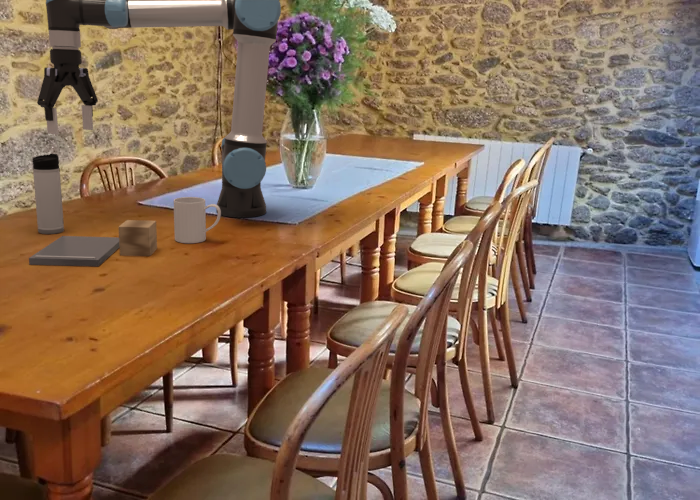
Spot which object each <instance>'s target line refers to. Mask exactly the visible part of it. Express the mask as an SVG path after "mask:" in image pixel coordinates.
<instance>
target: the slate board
mask: <svg viewBox="0 0 700 500" xmlns="http://www.w3.org/2000/svg"><path fill="white" fill-rule="evenodd" d="M119 249H120V247H119V236H118V237H116V236H114V237H112V236H111V237H109V236H82V235H81V236H78V235H76V236H75V235H74V236H73V235H62V236H60V237H59V238H57V239H55V240H54V241H53V242H51V243H49V244H47V245H46V246H45V247H43V248H42V249H40V250H39V251H37V252H36V253H34V254H33V255H31V256H29V257H28V264H29V265H31V266H34V265H35V266H62V267H63V266H64V267H65V266H66V267H100V265H102V264H103V263H104V262H105V261H106V260H107V259H109V257H111V256H112V255H113V254H114V253H115V252H116V251H118V250H119Z"/></svg>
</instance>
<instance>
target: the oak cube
mask: <svg viewBox="0 0 700 500" xmlns="http://www.w3.org/2000/svg"><path fill="white" fill-rule="evenodd" d="M118 237H119V247H120V248H119V256H127V257H130V256H134V257H151V256H152V254H154V253H155V251H156V250H157V249H158V238H157V237H158V235H157V220H140V219H139V220H137V219H136V220H135V219H126V220H125V221H124V222H123V223H120V225H119V226H118Z"/></svg>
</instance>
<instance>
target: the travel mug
mask: <svg viewBox="0 0 700 500" xmlns="http://www.w3.org/2000/svg"><path fill="white" fill-rule="evenodd" d="M31 160H32V171H33V173H32V174H33V186H34V197H35V208H36V209H35V210H36V223H37V231H38V233H39V234H42V235H54V234H60V233H63V232H64V231H65V226H64V209H63V198H62V197H63V195H62V194H63V193H62V182H61V181H62V180H61V172H60V160H59V155H58V154H57V153H50V154H42V155H41V154H40V155H36V156H33V158H32V159H31Z"/></svg>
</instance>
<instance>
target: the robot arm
mask: <svg viewBox="0 0 700 500" xmlns="http://www.w3.org/2000/svg"><path fill="white" fill-rule="evenodd" d="M45 7H46V18H47V30H48V41H49V42H48V43H49V46H50V47H52V48H50V50H49V59H50V64H53V67H44V71H43V76H44V77H43V80H42V83H41V87H40V90H39V95H38V97H37V102H36V103H37V105H38V106H39V107H41V108H43V109H44V118H45V121H46V131H47V134H48V135H49V134H51V135H59V126H58V125H59V124H58V111H57V110H58V109H57V107H55V105H56V103H57V101H58V98H59V97H60V95H61V93H62V91H63V89H64V88H66V87H68V86H69V87H72V88H73V90H74V91H75V93H76V94H77V95H78V97H79V99H80V101H82V103H83V104H82V105H81V114H82V115H81V116H82V117H81V119H82V120H81V121H82V130H86V131H88V130H89V131H93V130H94V124H93V123H94V122H93V121H94V120H93V116H94V113H93V112H94V110H93V109H94V107H93V106H96V105H97V103H98V102H99V101H98V96H97V93H96V92H95V91H96V90H95V89H94V87H93V84H92V80H91V78H90V73H89V69H88V68H87V67H80V65H82V63H83V62H82V51H81V50H80V48H81V47H82V42H81V31H80V30H81V29H80V26H92V27H93V26H95V27H104V28H106V29H109V30H118V29H132V28H133V29H134V28H137V29H138V28H176V27H177V28H179V27H181V28H183V27H185V28H187V27H188V28H189V27H224V28H225V30H232V31H233V32H232V36H233V37H234V39H235V40H236V41H237V50H236V51H237V52H236V53H237V54H236V65H235V66H236V67H235V77H234V88H233V89H234V90H233V104H232V115H231V129H230V132H229V133H228V134H227V135H225V136H224V137H222V140H221V145H220V148H221V190H220V193H219V196H218V199H217V203H216V205H218V206H219V208H220V210H221V216H223V217H229V218H230V217H231V218H256V217H260V216H264V215H266V214H267V203H266V201H265V197H264V195H263V191H262V188H261V186H262V185H261V182H262V181H263V179H264V178H265V176H266V172H267V163H266V155H267V152H266V151H267V140H266V139H265V137H264V136H263V128H264V127H263V126H264V118H265V117H264V114H265V105H266V104H265V103H266V95H267V85H268V84H267V82H268V71H269V61H270V52H271V51H270V50H271V47H272V45H273V44H274V43H276V41H277V35H278V24H279V19H280V17H281V13H282V5H281V2H280V0H45ZM215 209H216V208H215ZM265 213H266V214H265ZM216 214H218V211H217V209H216Z"/></svg>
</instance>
